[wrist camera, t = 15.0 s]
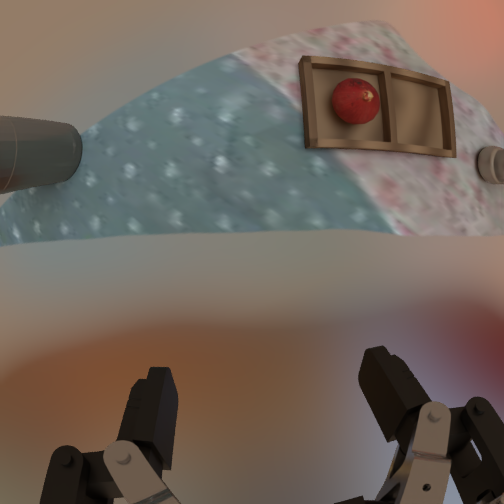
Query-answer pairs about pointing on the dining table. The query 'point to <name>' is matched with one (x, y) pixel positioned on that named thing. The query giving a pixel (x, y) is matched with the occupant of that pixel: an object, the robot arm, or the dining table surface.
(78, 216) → the dining table surface
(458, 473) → the robot arm
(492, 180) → the plastic bottle
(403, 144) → the walnut tray
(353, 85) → the pomegranate
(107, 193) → the dining table surface
